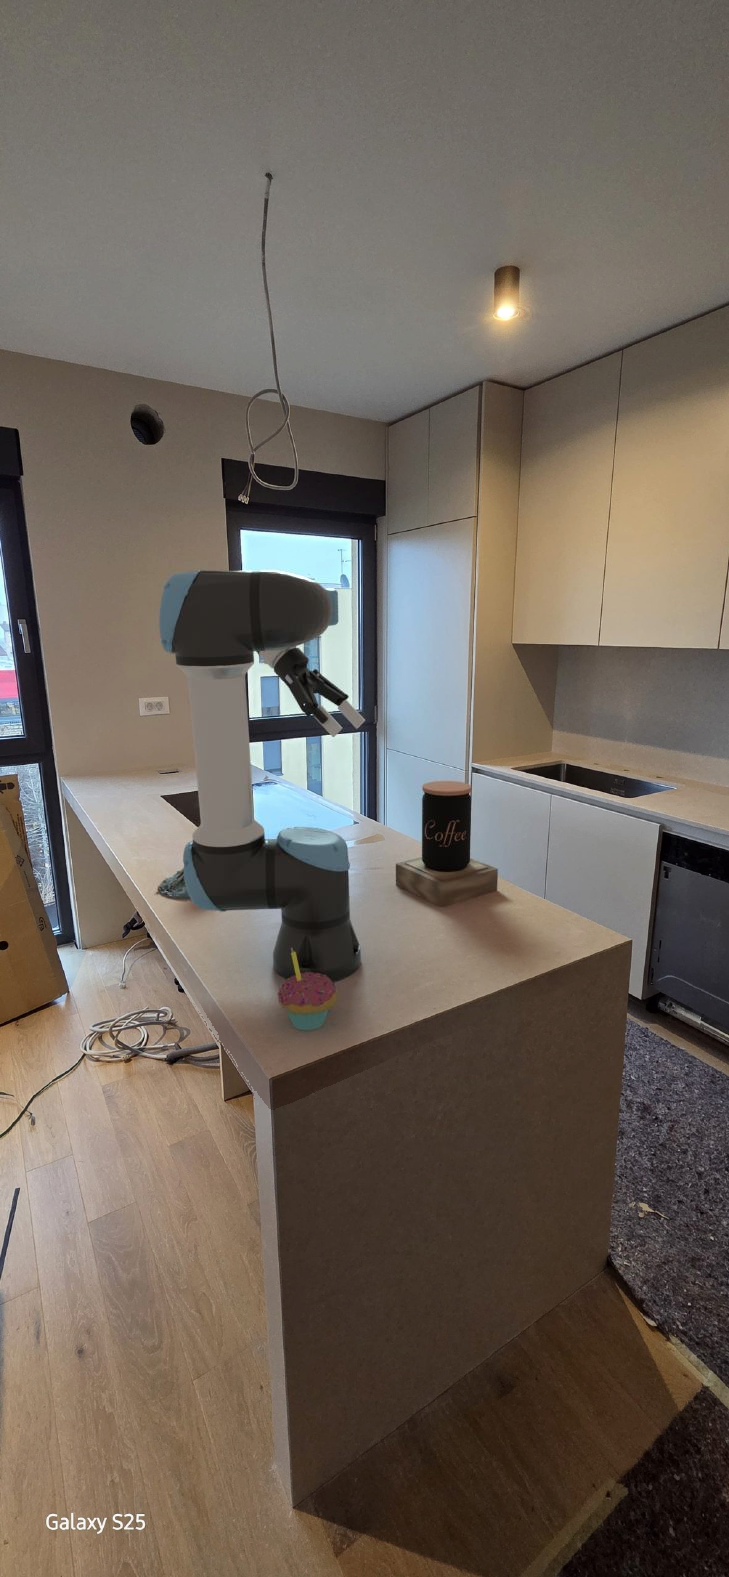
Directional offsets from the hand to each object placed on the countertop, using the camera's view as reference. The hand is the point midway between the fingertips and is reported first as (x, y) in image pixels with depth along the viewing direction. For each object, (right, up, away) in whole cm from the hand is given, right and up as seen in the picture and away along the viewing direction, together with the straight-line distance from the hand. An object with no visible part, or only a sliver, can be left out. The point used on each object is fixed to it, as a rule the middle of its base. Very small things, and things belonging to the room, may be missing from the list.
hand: (350, 728), depth 143 cm
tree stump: (-34, -35, +10) cm, 50 cm away
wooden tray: (+21, -35, +5) cm, 41 cm away
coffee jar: (+21, -30, +4) cm, 37 cm away
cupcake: (-5, -47, -46) cm, 66 cm away
